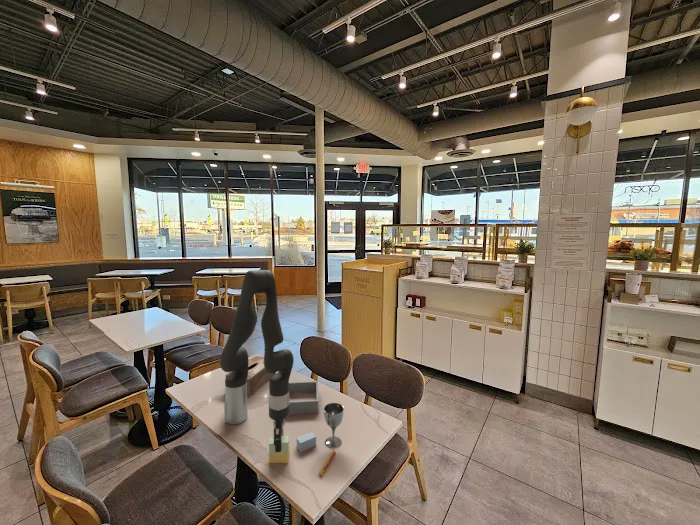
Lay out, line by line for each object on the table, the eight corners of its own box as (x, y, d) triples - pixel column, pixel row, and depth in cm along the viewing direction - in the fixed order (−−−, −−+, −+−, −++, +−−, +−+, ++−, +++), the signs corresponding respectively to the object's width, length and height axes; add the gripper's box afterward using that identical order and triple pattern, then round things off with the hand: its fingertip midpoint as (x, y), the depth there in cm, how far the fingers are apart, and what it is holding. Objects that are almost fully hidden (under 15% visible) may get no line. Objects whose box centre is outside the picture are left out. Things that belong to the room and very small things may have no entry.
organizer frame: (278, 415, 142) (278, 403, 141) (282, 393, 160) (282, 382, 160) (318, 412, 144) (318, 400, 144) (317, 391, 163) (317, 381, 162)
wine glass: (323, 436, 128) (324, 403, 126) (342, 435, 129) (343, 402, 127) (323, 449, 120) (324, 414, 119) (343, 448, 121) (344, 414, 119)
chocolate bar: (317, 475, 108) (317, 470, 108) (330, 452, 119) (330, 447, 119) (323, 478, 107) (323, 472, 107) (336, 454, 119) (336, 449, 118)
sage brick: (269, 453, 112) (268, 444, 112) (270, 447, 116) (270, 437, 115) (288, 452, 113) (288, 442, 113) (288, 445, 117) (288, 436, 116)
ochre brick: (269, 463, 113) (268, 453, 113) (271, 456, 117) (271, 446, 116) (287, 463, 113) (287, 453, 113) (289, 456, 117) (289, 446, 116)
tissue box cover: (249, 397, 156) (248, 379, 155) (226, 392, 161) (225, 374, 159) (276, 375, 181) (275, 359, 179) (255, 371, 185) (255, 355, 184)
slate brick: (300, 452, 119) (300, 443, 118) (296, 447, 122) (296, 438, 121) (316, 445, 123) (316, 436, 122) (312, 440, 126) (312, 431, 125)
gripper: (271, 393, 119) (271, 431, 121) (266, 415, 105) (266, 458, 107) (290, 392, 120) (290, 430, 122) (288, 414, 106) (288, 456, 108)
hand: (279, 443), depth 114 cm, fingers open, 8 cm apart
